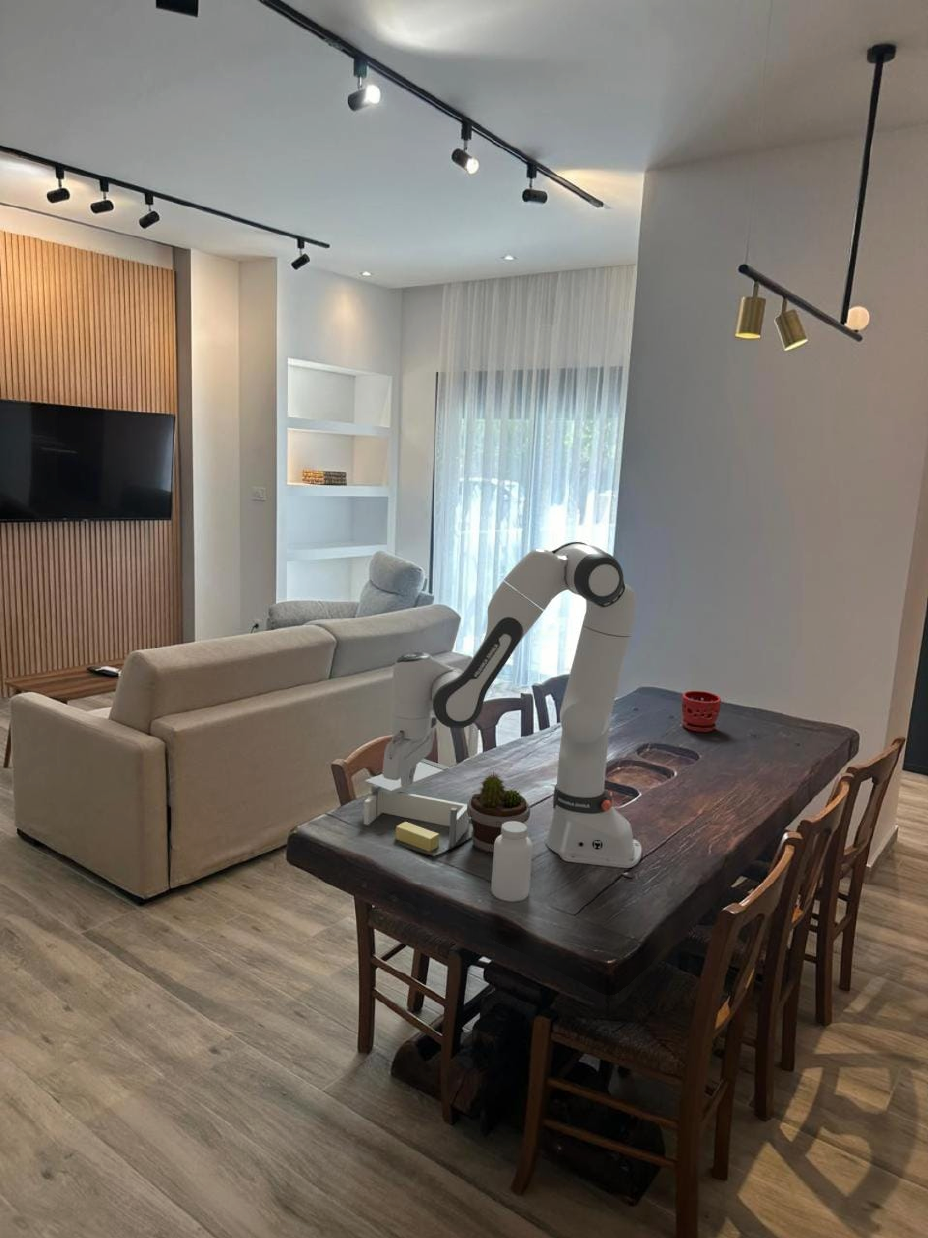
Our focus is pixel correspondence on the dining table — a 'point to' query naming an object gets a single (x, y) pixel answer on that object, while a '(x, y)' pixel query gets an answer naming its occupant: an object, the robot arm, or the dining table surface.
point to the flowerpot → (494, 812)
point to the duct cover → (422, 774)
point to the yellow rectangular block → (417, 836)
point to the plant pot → (700, 710)
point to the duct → (419, 811)
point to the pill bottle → (512, 862)
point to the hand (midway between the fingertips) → (406, 785)
